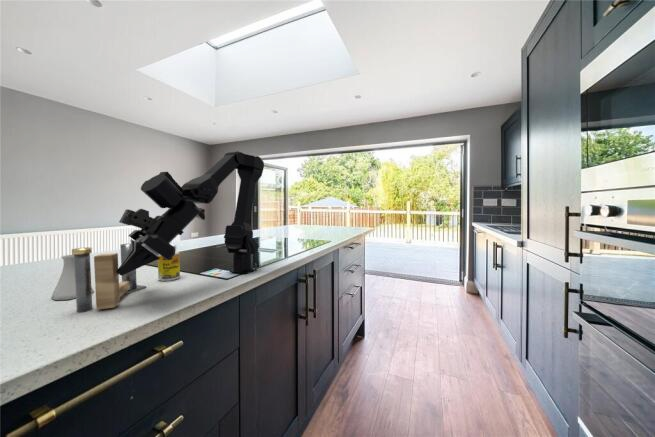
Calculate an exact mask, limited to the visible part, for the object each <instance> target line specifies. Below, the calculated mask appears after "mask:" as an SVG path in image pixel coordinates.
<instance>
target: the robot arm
mask: <svg viewBox="0 0 655 437" xmlns="http://www.w3.org/2000/svg"><path fill="white" fill-rule="evenodd" d="M264 166H265V163H264V160H263V159H262V158H261V157H260V156H257V155H252V154H247V153H243V152H241V151H238V150H237V151H228V152H226V153H224V156H223V157H222V158H220V160H218V161H217V162H216V163H215V164H214V165H213V166H212V167H210V168H209V170H207V171H206V172H205V173H203V174H202V175H200V176H198V177H194V178H192V179H190V180H189V181H186V182H185V183H184V184H183V185H182V186H180V184H179V183H178V182H177V181H176V180H175V179H174V178H173V176H172V175H171V173H170V172H169V171H160V172H159V173H158V174H156V175H154V176H152V177H151V178H148V179H147V180H145V181H144V182H143V183H142V184H141V186H140V191H141V192H143V193H144V194H145V195H146V196H147V197H148V198H149V199H150V200H151V201H152V202H154V204H156V205H157V206H158V207H159V208H161V209H167V210H166V211H165V212H163V213H162V214H161V215H156V216H155V217H151V216H150V211H148V210H146V209H144V208H139V209H137V210H132V209H128V208H127V209H126V208H125V210H124V212H123V214H122V216H121V217H120V220H118V222H119V223H120V224H123V225H127V226H132V227H135V228H138V229H133V231H131V232H130V233H129V234H128V237H129V238H130V241H129V243H131V251H130V252H129V254H128V255H127V257H126V258H125V260H124V261H123V263H122V264H121V263H120V266H118V270H117V273H118V274H119V276H121V277H122V275H124V274H126V273H129V272H131V271H133V270H135V269H136V270H137V269H139V268H141V267H144V266H146V265H149V264H151V263H153V262H155V261H158V260H159V259H160V258H159V257H158V255H159V254H160V255H161V256H163V258H165V259H166V260H168V261H169V260H170V259H171V258H172V257H173V256H174V255H175V248H174V247H173V246H172V245H170V244H171V243H172V242H173V240H175V239H176V238H177V237H178V236H182V235H183V233H184V231H183V230H185V229H186V228H187V226H189V224H190V223H191V222H192V221H193V220H194V219H196V218H197V219H200V220H202V221H204V220H205V219H206V215H205V212H206V210H205V209H204V208H201V207H198V206H197V205H198V204H199V205H200V204H203V205H204V204H210V203H211V202H213V200H214V199H215V198H216V195H217V194H218V192H219V186H220V185H221V184H222V183H223V182H224V181H225V180H226V179H227V178H228V176H230V175H231V174H232V173H233V172H234V171H235V170H237V174H238V177H239V179H240V183H239V188H238V189H239V190H238V194H237V202H236V206H235V214H234V219H233V221H232V223H231V224H230V225H229V224H227V225H226V226H225V231H224V235H223V239H224V244H225V247H226V250H227V253H228V254H232V269H231V270H229V273H230V272H239V273H238V274H243V273H247V274H249V273H251V272H250V271H252V270H254V269H256V270H257V269H258V268H257V267H254V259H253V255H255V254H257V253H259V248H260V247H259V244H257V242H256V241H255V239H254V232H253V231H254V230H253V229H252V226H251V223H250V222H251V216H252V210H253V204H254V196H255V191H256V184H257V182H258V181H259V180H260V178H262V175H263V172H264V169H265V167H264ZM254 271H255V270H254ZM248 272H249V273H248ZM252 272H253V271H252Z"/></svg>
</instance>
